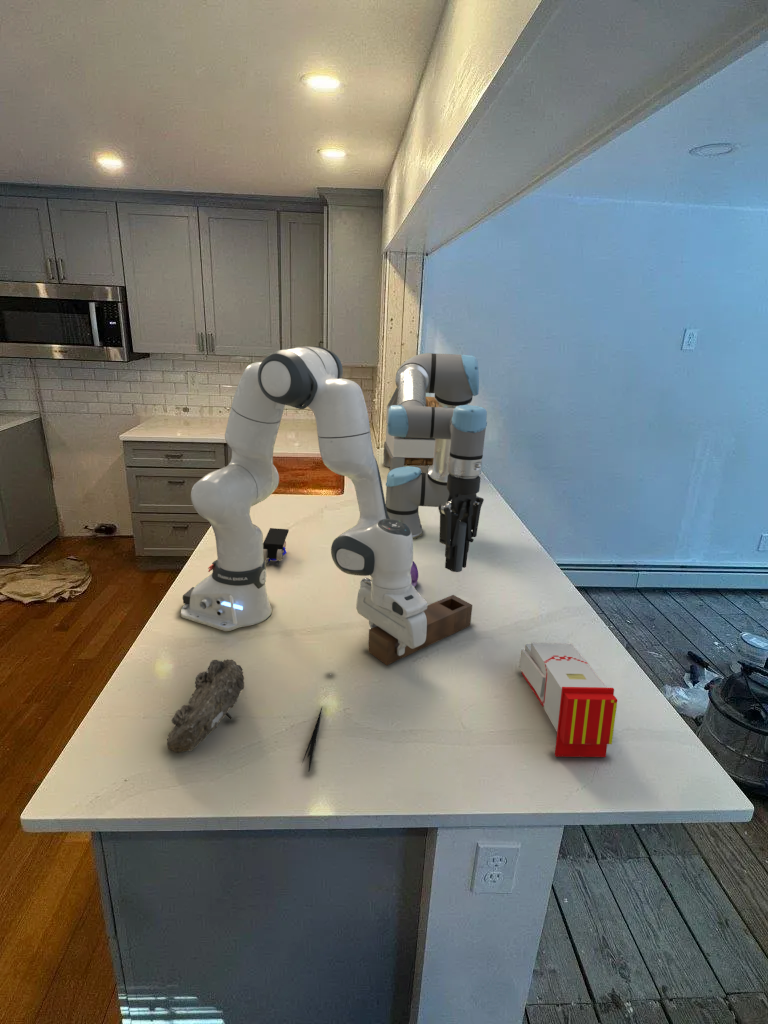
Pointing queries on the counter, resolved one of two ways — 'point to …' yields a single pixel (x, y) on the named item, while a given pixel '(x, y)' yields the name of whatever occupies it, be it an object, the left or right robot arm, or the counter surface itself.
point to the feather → (313, 740)
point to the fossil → (206, 705)
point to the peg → (460, 546)
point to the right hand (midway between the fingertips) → (455, 567)
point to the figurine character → (275, 545)
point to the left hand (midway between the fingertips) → (388, 645)
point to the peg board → (440, 624)
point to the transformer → (408, 444)
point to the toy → (570, 698)
